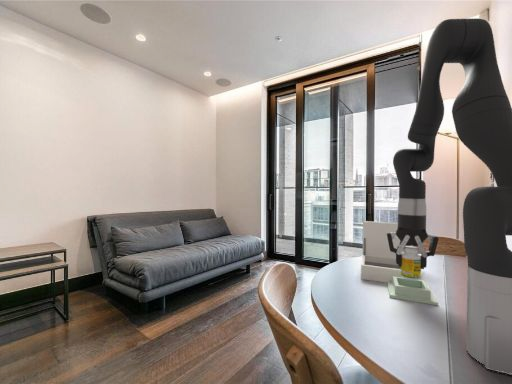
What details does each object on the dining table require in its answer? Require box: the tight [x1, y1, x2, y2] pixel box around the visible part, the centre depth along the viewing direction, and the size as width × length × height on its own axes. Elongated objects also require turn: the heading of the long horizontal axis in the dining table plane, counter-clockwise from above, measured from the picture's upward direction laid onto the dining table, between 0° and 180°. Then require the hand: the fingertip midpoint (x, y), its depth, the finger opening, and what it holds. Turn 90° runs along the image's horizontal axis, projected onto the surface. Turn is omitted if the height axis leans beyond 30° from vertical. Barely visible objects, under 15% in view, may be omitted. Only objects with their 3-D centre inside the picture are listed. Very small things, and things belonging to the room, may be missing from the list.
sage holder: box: [387, 276, 439, 306], centre depth 78 cm, size 12×12×3 cm
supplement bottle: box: [401, 245, 422, 281], centre depth 78 cm, size 5×5×10 cm
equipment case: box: [360, 220, 404, 284], centre depth 95 cm, size 17×15×19 cm
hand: (410, 266), depth 77 cm, fingers closed on supplement bottle, 5 cm apart
